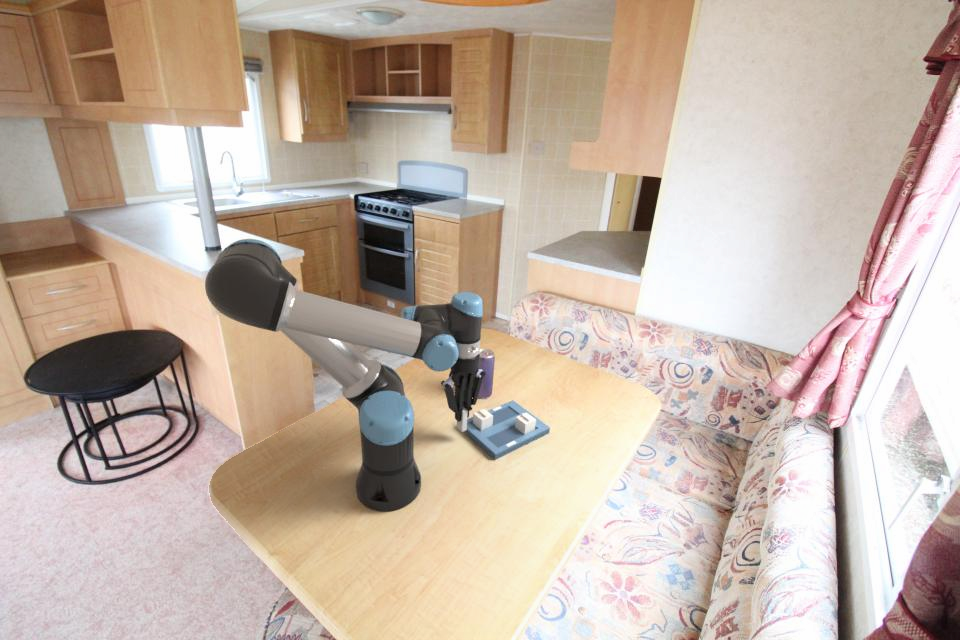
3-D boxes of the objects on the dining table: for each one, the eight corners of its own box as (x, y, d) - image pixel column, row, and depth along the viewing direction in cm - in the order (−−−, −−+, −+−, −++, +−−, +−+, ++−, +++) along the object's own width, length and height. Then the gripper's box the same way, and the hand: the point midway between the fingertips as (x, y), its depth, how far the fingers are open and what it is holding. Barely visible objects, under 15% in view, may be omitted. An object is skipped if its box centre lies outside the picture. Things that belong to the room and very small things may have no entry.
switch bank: (495, 460, 121) (495, 453, 120) (459, 427, 132) (460, 421, 132) (549, 433, 132) (550, 427, 132) (512, 405, 144) (513, 399, 143)
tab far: (481, 430, 129) (482, 418, 127) (472, 423, 132) (473, 411, 130) (492, 425, 131) (493, 413, 130) (483, 418, 134) (484, 406, 133)
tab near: (524, 434, 129) (525, 422, 127) (514, 427, 132) (516, 415, 130) (534, 429, 131) (536, 417, 129) (525, 422, 134) (526, 410, 132)
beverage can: (491, 400, 146) (495, 358, 140) (473, 398, 146) (475, 357, 140) (491, 389, 151) (495, 349, 145) (473, 388, 151) (476, 348, 145)
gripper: (452, 366, 111) (449, 444, 120) (494, 352, 118) (488, 427, 128) (435, 353, 116) (433, 429, 126) (476, 340, 123) (472, 413, 133)
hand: (461, 428), depth 127 cm, fingers closed
